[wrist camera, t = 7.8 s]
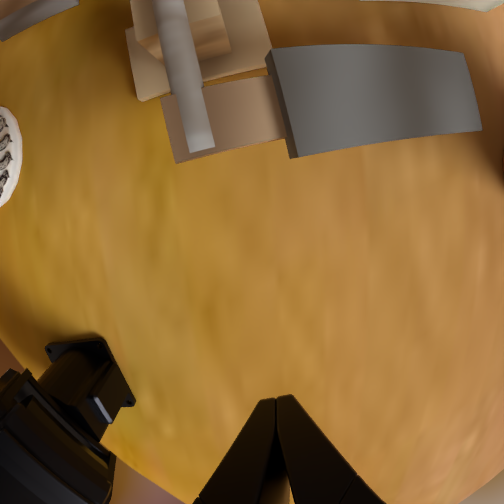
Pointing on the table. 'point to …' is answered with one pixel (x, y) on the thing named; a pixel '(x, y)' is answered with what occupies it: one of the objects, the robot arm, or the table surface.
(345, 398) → the table surface
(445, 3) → the white storage tray
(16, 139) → the decorative candle
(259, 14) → the fulcrum stand
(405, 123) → the lever
